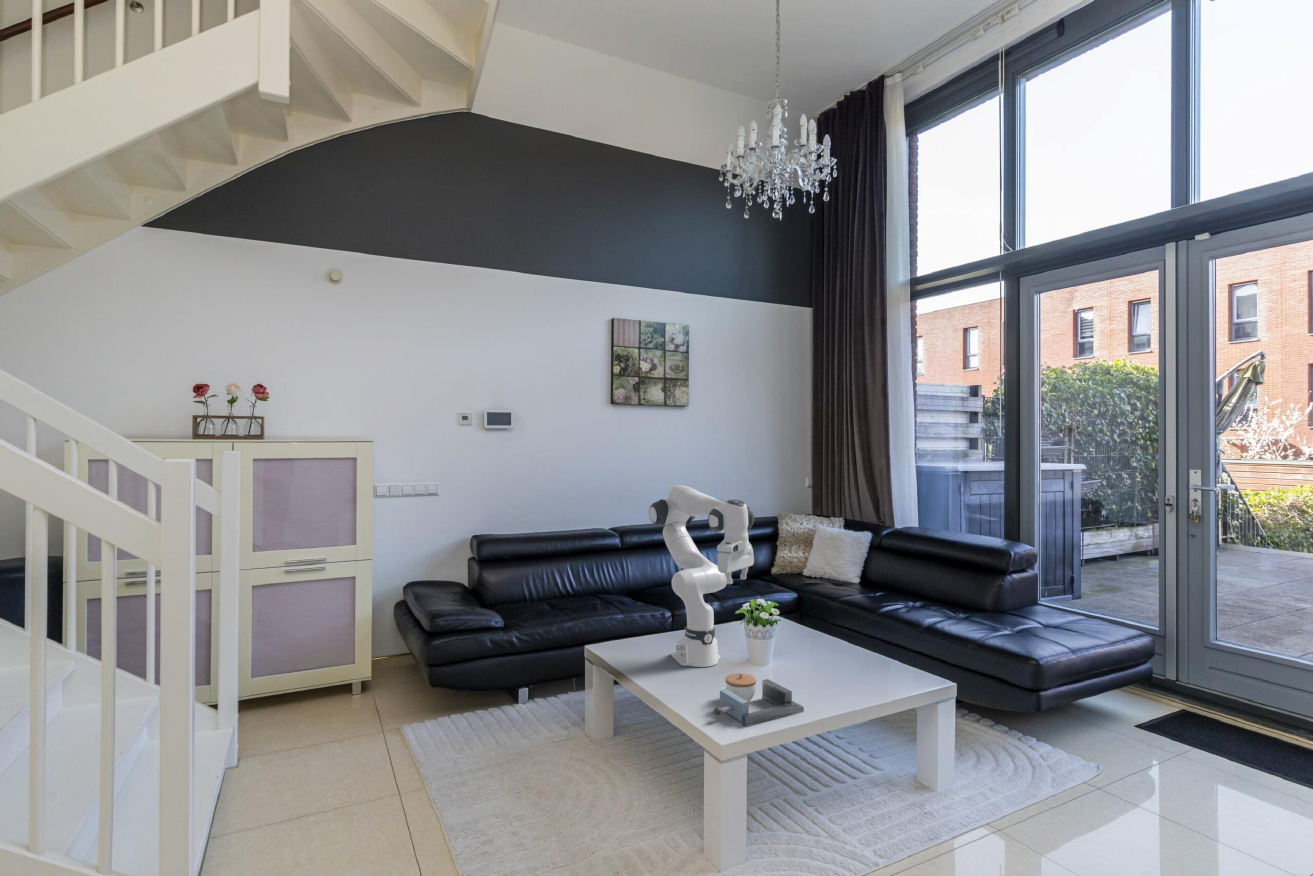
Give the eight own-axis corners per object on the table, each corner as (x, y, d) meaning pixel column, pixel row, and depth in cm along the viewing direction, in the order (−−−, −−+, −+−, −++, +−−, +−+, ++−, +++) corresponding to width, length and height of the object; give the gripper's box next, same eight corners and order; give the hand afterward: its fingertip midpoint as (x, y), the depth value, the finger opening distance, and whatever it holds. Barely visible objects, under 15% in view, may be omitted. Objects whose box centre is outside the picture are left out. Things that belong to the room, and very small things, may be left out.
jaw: (702, 712, 221) (702, 694, 221) (726, 706, 226) (726, 688, 226) (724, 727, 210) (723, 708, 210) (749, 720, 214) (748, 701, 214)
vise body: (718, 709, 224) (718, 690, 224) (774, 695, 236) (774, 677, 236) (745, 726, 211) (745, 706, 211) (803, 711, 222) (803, 692, 222)
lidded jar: (719, 700, 232) (719, 674, 232) (738, 692, 239) (738, 666, 239) (743, 709, 224) (743, 682, 224) (762, 700, 232) (762, 673, 232)
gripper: (743, 539, 254) (743, 575, 254) (714, 547, 238) (714, 585, 238) (757, 541, 250) (758, 577, 250) (729, 548, 234) (729, 587, 234)
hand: (736, 581), depth 244 cm, fingers open, 8 cm apart
